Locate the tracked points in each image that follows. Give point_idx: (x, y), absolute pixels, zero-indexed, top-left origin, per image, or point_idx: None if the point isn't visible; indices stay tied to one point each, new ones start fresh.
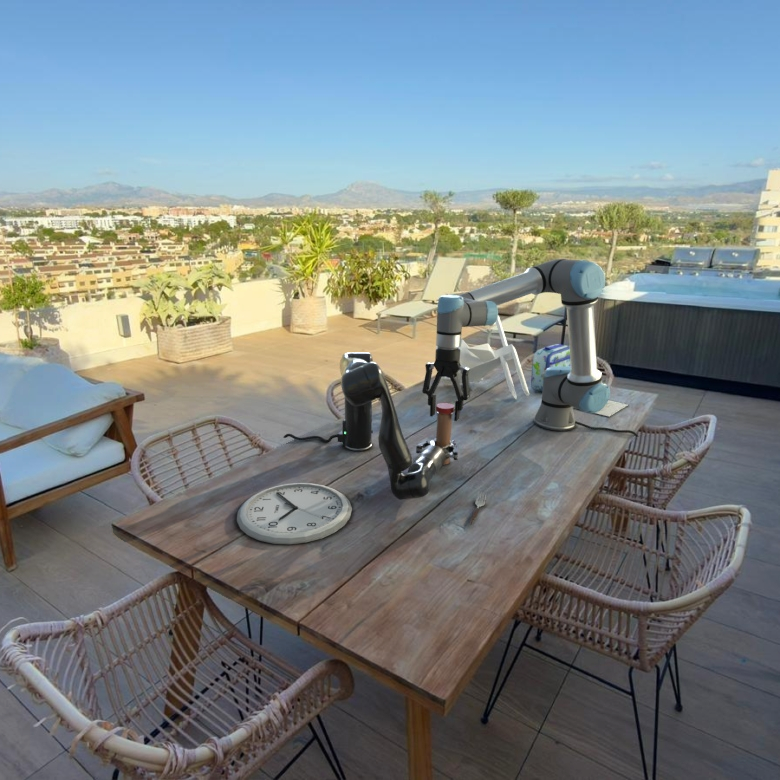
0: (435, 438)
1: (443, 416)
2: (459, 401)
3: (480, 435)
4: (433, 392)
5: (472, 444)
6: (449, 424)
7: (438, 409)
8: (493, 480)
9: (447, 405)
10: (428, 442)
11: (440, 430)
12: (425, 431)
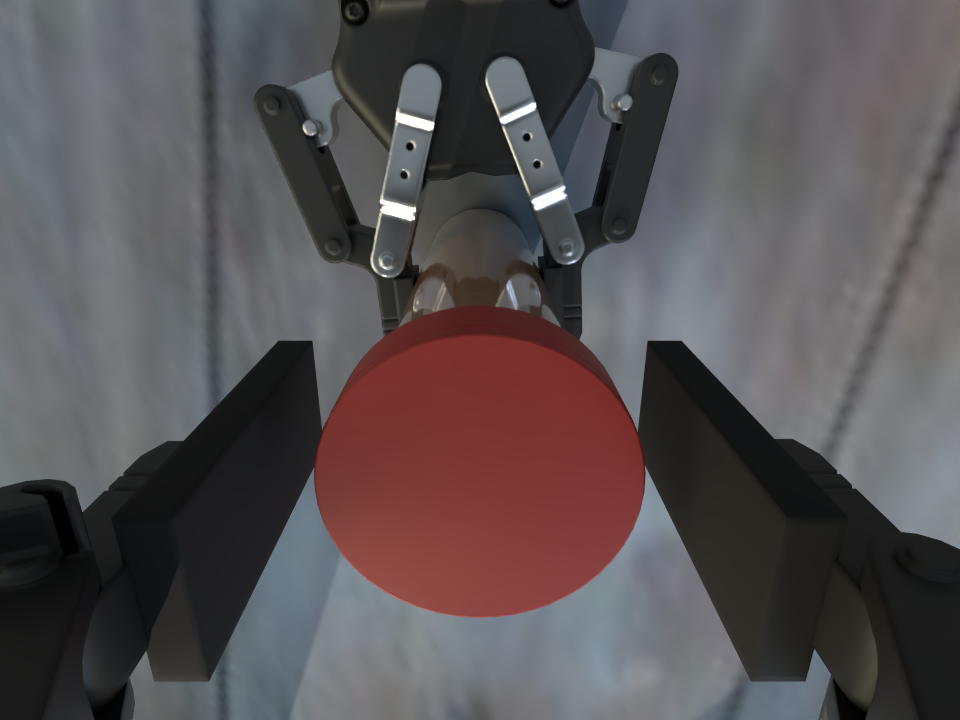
0: None
1: None
2: (19, 491)
3: (414, 692)
4: (848, 710)
5: None
6: None
7: (553, 335)
8: (62, 148)
9: (450, 525)
10: (599, 232)
11: (490, 262)
12: None
